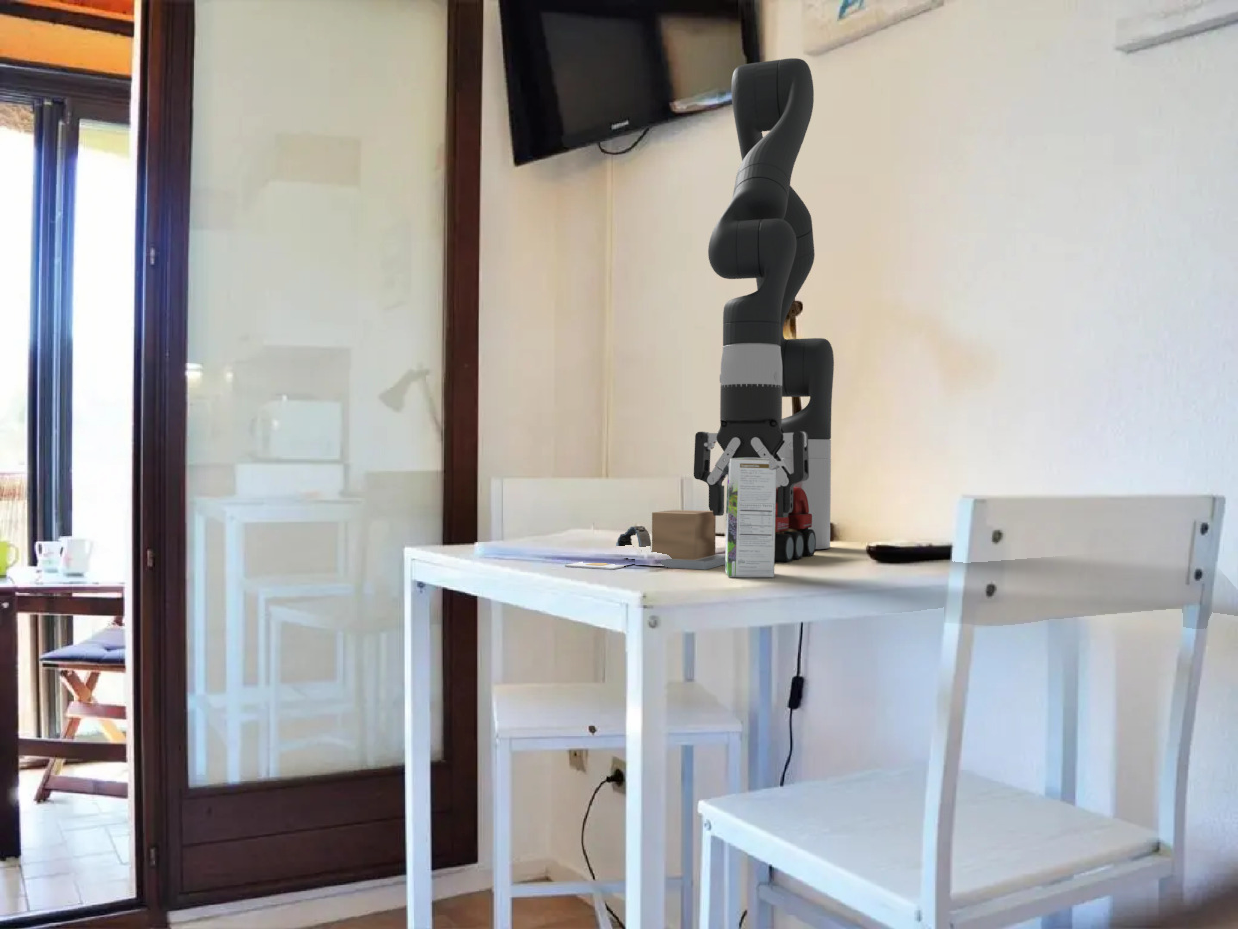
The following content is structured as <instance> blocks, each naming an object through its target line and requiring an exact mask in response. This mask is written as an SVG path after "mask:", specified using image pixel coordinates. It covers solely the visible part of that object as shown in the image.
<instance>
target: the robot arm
mask: <svg viewBox="0 0 1238 929" xmlns="http://www.w3.org/2000/svg"><path fill="white" fill-rule="evenodd" d="M810 68H811V67H810V66H809V64H808V63H807V62H806V61H805V59H801V58H792V57H791V58H783V59H774V60H768V61H760V62H752V63H746V64H742V65H739V66H737V67H736V68H735V69H734V71H733V73H732V77H731V87H730V88H731V90H730V91H731V92H730V93H731V103H732V111H733V117H734V123H735V129H736V134H737V140H738V146H739V152H740V156H741V163H740V165H739V167H738V170H737V173H736V176H735V181H734V182H735V183H734V189H733V192H732V198H731V201H730V202H729V203H728V205H727V207H726V208H725V210H724V211H723V213H722V214H721V216H720V217H719V219H718V221H717V222H716V224H715V226H714V228H713V229H712V232H711V236H710V237H709V242H708V249H707V250H708V252H707V253H708V254H707V255H708V256H707V257H708V260H709V264H710V267H711V269H712V270H713V272H714V273H715V274H716V275H718V276H719V277H721V278H723V279H727V280H741V279H755V280H756V289H757V290H756V291H754V292H751V293H749V294H746V295H742V296H738V297H734V298H731V299H729V300H728V301H727V302H726V303H725V304H724V307H723V312H722V315H723V316H722V346H723V347H722V356H721V361H720V374H719V383H720V395H719V397H720V399H719V400H720V403H719V404H720V408H719V410H720V411H719V415H720V416H719V419H720V420H719V421H720V422H719V423H720V427H719V429H718V431H717V432H707V431H697V432H696V433H695V434H694V437H695V438H694V455H693V457H694V458H693V459H694V462H693V478H694V479H696V480H697V481H698V480H699V481H701V482H704V483H706V484H707V486H708V508H709V509H708V510H709V511H713V515H714V516H716V517H719V516H720V517H721V516H724V514H725V485H723V482H724V480H725V479H726V477H728V467H729V465H728V464H729V462H730V459H732V458H743V457H753V458H767V459H768V460H770V461H769V470H774V469H776V487H778V517H779V518H785V517H788V513H791V512H792V510H793V488H794V487H800V488H802V489H803V490H804V492H805V493H806V496H807V499H808V505H809V514H812V527H810V528H808V529H812V530H814V532H815V537H816V548H815V550H825V549H830V547H831V496H832V495H831V494H832V493H831V490H832V489H831V485H832V482H831V481H832V480H831V476H832V475H831V474H832V473H831V472H832V457H831V456H832V440H831V439H832V403H833V402H832V399H833V388H834V387H833V386H834V385H833V383H834V372H835V371H834V366H835V362H834V360H835V359H834V357H835V356H834V350H833V347H832V344H831V342H830V341H829V340H828V339H826V338H823V337H819V338H818V337H815V338H814V337H812V338H785V336H784V325H785V321H786V319H787V316H788V314H789V311H790V309H791V307H792V305H793V302H794V300H795V299H796V297H797V295H798V294H799V292H800V290H801V289H802V287H803V285H804V284H805V281H806V280H807V278H808V276H809V273H811V270H812V267H813V264H814V261H815V256H816V255H815V244H814V233H813V232H814V231H813V219H812V216H811V213H810V211H809V209H808V207H807V206H806V204H805V202H804V201H803V200H802V198H801V197H800V196H799V195H798V193H797V192H796V191H795V190H794V188H793V187H792V186H791V181H792V179H791V178H792V175H793V171H794V168H795V167H794V166H795V163H796V161H797V158H798V155H799V152H800V151H801V148H802V145H803V142H804V139H805V137H806V133H807V132H808V128H809V124H810V122H811V120H812V116H813V115H812V114H813V110H814V108H813V107H814V99H815V98H814V95H815V94H814V82H813V81H814V80H813V75H812V72H811V69H810ZM763 132H767V133H766V134H765V135H764V136H763ZM790 397H791V398H794V397H795V398H801V397H803V398H804V397H807V398H808V397H809V399H808V400H809V401H808V403H807V405H806V406H804V407H803V408H802V409H801V410H799V411H798V412H796V413H794V414H792V415H789V416H786V417H784V418H783V398H790ZM716 443H718V445H719V447H720V448H721V450H722V451H723V452H722V454H721V456H720V457H719V458H718V460H717V462H715V465H714V468H713V469H712V471H711V470H710V469H711V450H713V449H714V448H715V446H716ZM775 459H776V460H775ZM768 460H767V461H768Z"/></svg>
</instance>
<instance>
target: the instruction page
mask: <svg viewBox="0 0 1238 929" xmlns="http://www.w3.org/2000/svg"><path fill="white" fill-rule="evenodd" d="M624 566H625V565H615V564H607V563H583V561H579V562H574V563H568V564H564V568H565V567H567V568H568V567H569V568H582V569H584V568H585V569H598V570H599V569H600V570H601V569H602V570H617V569H621V568H625V567H624Z"/></svg>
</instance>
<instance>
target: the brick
mask: <svg viewBox="0 0 1238 929" xmlns="http://www.w3.org/2000/svg"><path fill="white" fill-rule="evenodd" d="M716 518H717V516H714V515H713V511H710V510H697V509H696V510H695V509H693V510H692V509H671V510H663V511H653V512H651V552H657V553H662V554H667V555H669V556H670V557H671V558H672V559H684V560H696V559H700V558H704V557H709V556H713V555H716V530H717V529H716V525H717V524H716Z"/></svg>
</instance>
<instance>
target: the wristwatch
mask: <svg viewBox="0 0 1238 929" xmlns="http://www.w3.org/2000/svg"><path fill="white" fill-rule="evenodd" d="M633 536H636V537H637V543H638V548H639V547H646V546H650V547H652V539H651V536H650V533H649V531H648V530H647V529H646V527H645V526H643V525H634V526H630V527H629V528H628V529H627V531H625V532H624V533H620V534H619V536H618V538H617V541H616V543H615V547H616V546H625V545H633V543H632V540H633V539H632V537H633Z"/></svg>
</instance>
